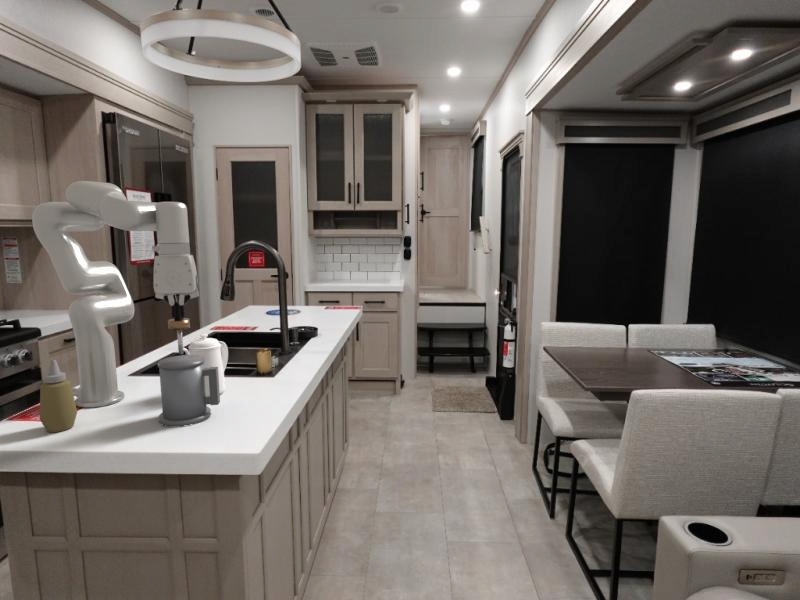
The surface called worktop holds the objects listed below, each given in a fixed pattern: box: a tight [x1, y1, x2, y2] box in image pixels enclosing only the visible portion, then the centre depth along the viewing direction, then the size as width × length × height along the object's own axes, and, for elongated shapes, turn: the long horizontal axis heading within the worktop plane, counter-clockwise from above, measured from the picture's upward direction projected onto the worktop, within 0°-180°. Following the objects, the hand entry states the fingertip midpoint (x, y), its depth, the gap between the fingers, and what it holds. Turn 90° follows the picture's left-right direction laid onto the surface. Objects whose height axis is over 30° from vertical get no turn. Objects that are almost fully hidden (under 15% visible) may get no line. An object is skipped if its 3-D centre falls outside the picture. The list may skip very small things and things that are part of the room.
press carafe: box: [157, 354, 221, 427], centre depth 135 cm, size 16×13×16 cm
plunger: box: [167, 317, 191, 355], centre depth 133 cm, size 5×5×9 cm
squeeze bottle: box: [39, 359, 78, 433], centre depth 128 cm, size 8×8×18 cm
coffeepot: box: [176, 333, 229, 396], centre depth 154 cm, size 11×25×19 cm, turn 168°
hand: (179, 319), depth 132 cm, fingers closed
